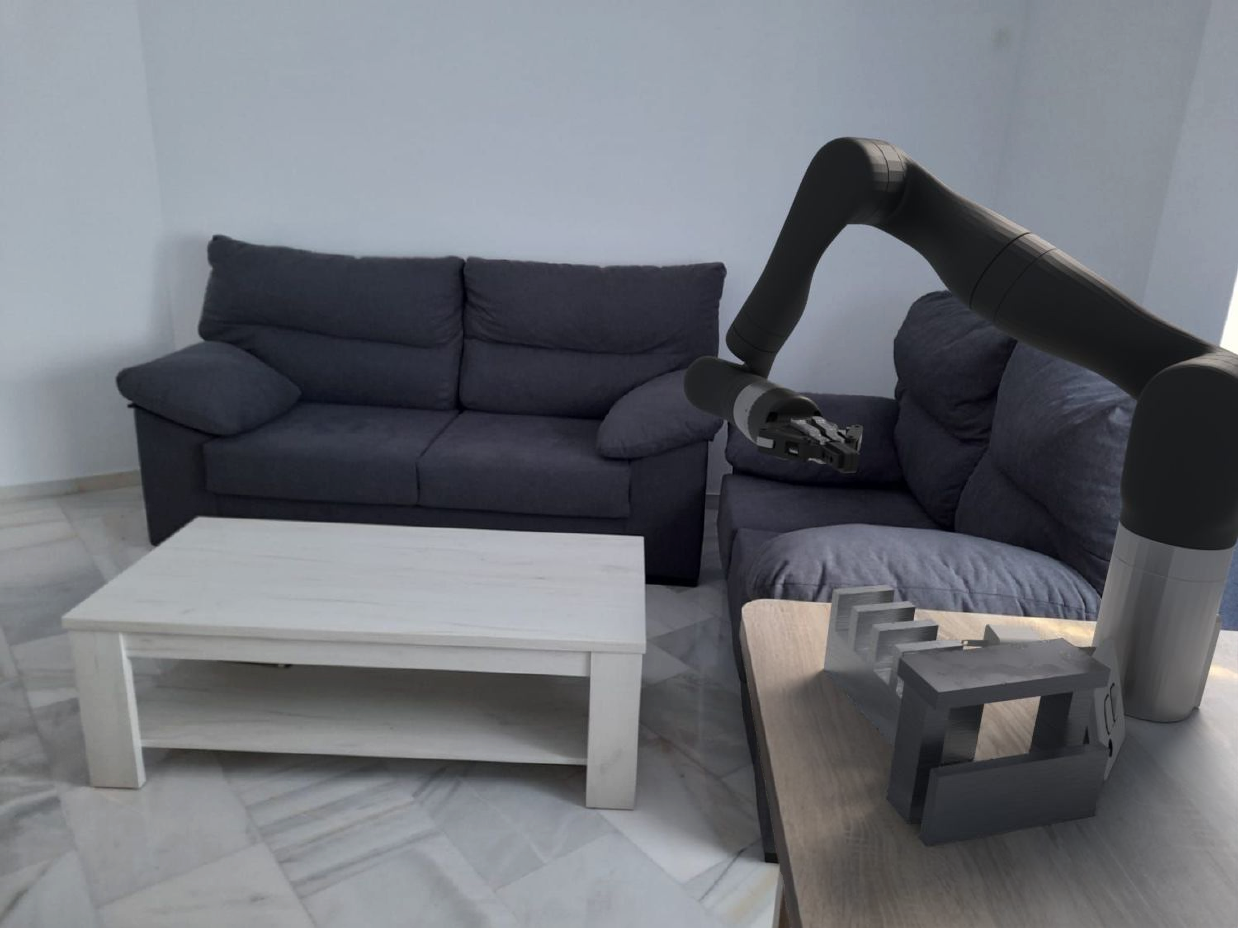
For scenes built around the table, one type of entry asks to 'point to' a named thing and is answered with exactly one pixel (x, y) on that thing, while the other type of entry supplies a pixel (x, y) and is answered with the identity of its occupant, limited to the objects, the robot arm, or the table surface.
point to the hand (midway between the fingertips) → (851, 463)
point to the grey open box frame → (1008, 786)
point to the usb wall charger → (1004, 636)
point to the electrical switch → (1106, 705)
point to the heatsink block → (889, 661)
